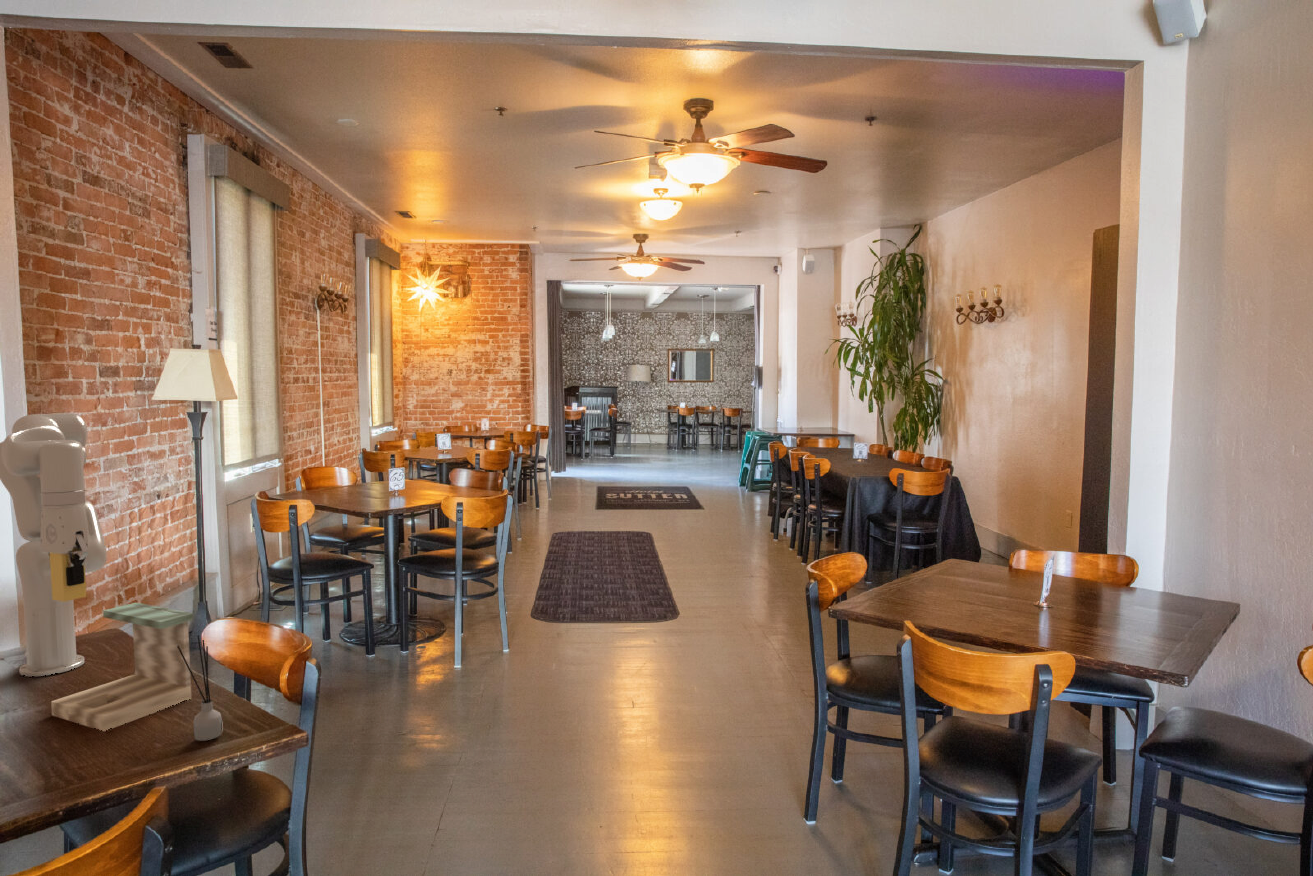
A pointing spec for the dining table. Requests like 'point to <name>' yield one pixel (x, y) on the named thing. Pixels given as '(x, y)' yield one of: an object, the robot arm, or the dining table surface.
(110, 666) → the dining table surface
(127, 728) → the dining table surface
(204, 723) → the reed diffuser
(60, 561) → the peg
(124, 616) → the green-topped stand
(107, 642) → the dining table surface
